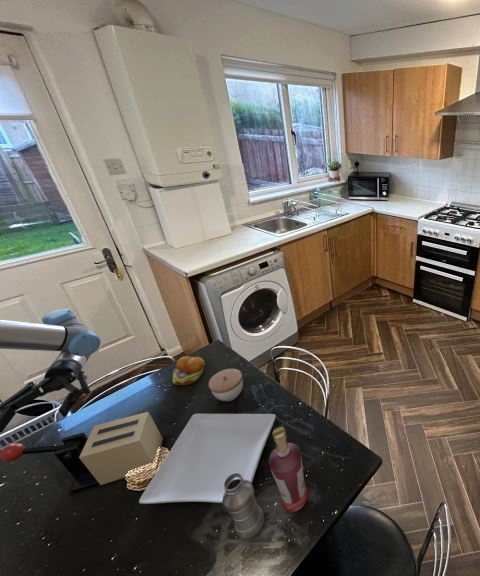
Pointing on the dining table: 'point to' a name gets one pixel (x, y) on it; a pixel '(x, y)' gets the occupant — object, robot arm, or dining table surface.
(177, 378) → the cheeseburger
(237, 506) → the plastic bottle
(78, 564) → the dining table surface
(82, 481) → the lever bracket
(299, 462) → the liquor
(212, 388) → the trinket box
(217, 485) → the square plate
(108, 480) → the toaster
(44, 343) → the robot arm
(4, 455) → the lever
